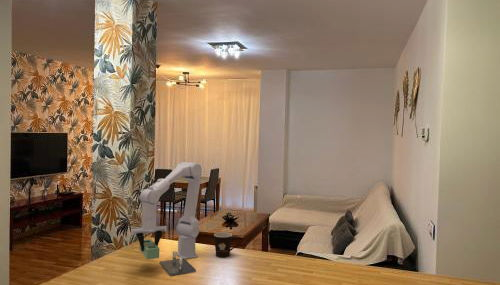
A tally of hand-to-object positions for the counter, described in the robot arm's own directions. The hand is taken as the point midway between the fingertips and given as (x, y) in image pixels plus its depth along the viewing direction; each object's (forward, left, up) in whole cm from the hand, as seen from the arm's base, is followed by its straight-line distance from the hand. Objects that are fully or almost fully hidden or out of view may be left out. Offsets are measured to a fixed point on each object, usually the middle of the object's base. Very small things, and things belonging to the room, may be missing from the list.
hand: (149, 249), depth 166 cm
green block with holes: (0, 0, -2) cm, 2 cm away
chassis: (+3, +11, -9) cm, 15 cm away
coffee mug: (-2, +36, -9) cm, 38 cm away
